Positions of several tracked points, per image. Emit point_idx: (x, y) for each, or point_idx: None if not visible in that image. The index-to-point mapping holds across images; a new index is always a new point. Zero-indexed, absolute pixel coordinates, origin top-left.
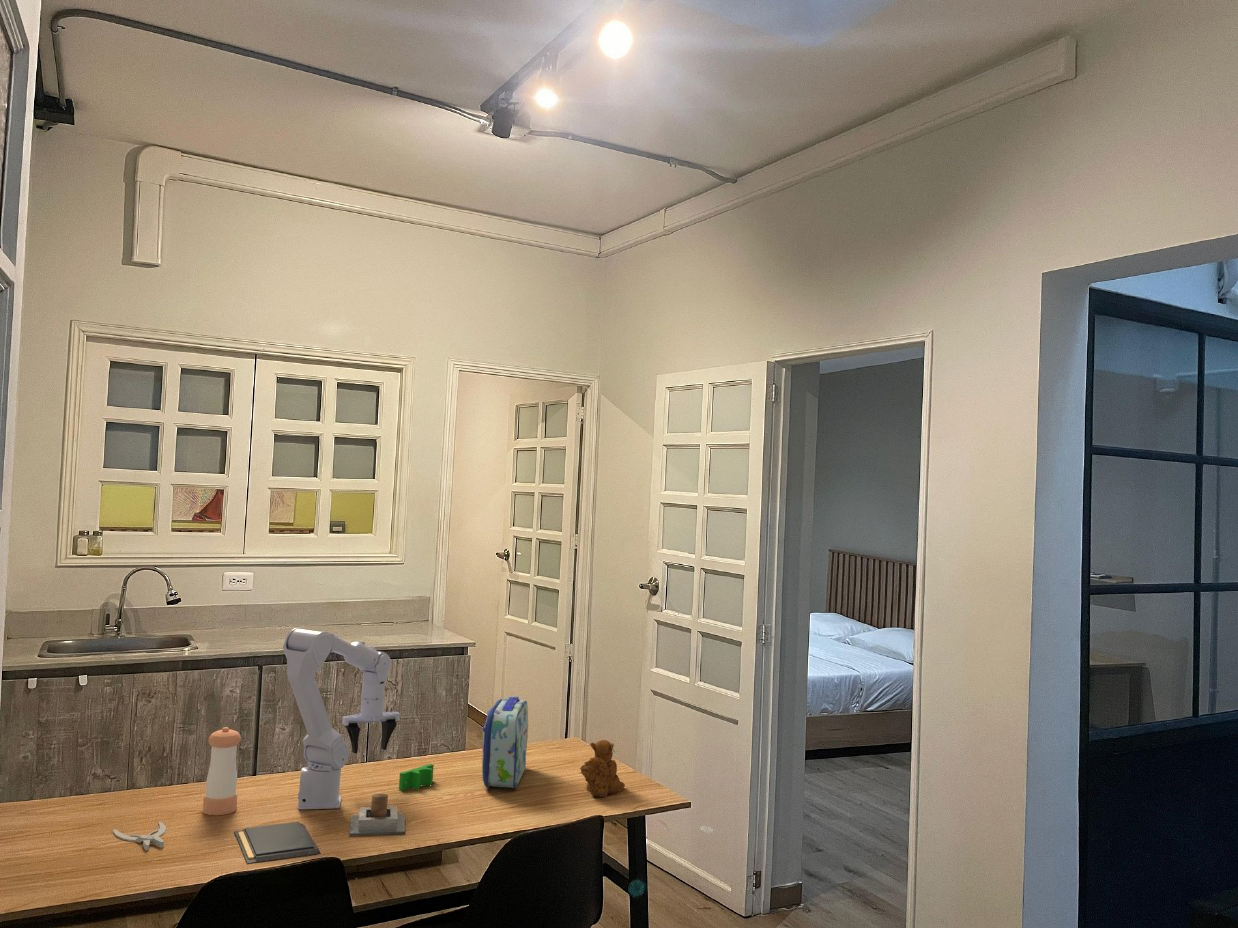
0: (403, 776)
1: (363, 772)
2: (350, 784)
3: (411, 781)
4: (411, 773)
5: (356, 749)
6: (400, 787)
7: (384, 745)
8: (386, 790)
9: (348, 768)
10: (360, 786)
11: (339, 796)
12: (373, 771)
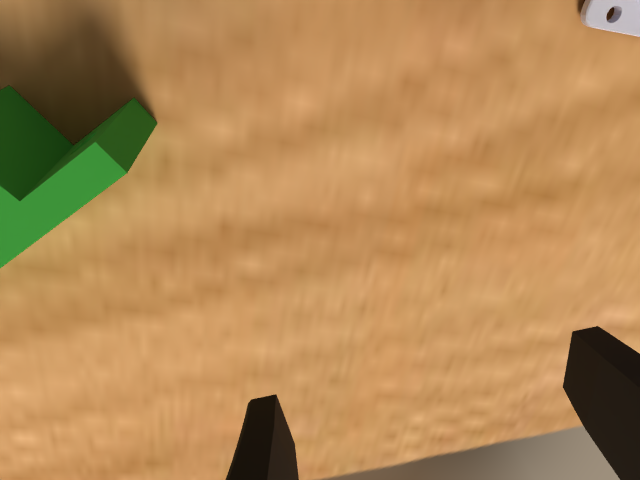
0: (97, 137)
1: (330, 409)
2: (431, 269)
3: (48, 159)
4: (26, 191)
5: (617, 352)
6: (142, 118)
7: (274, 435)
8: (244, 127)
9: (382, 451)
10: (389, 230)
11: (596, 13)
12: None
